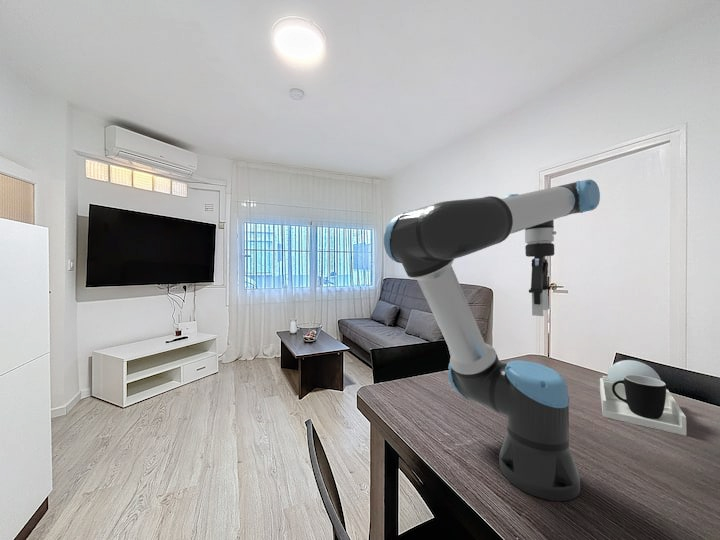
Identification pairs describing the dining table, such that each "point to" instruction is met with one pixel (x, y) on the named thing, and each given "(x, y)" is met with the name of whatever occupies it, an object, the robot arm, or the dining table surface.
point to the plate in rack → (630, 370)
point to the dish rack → (620, 411)
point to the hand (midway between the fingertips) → (540, 312)
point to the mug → (643, 395)
